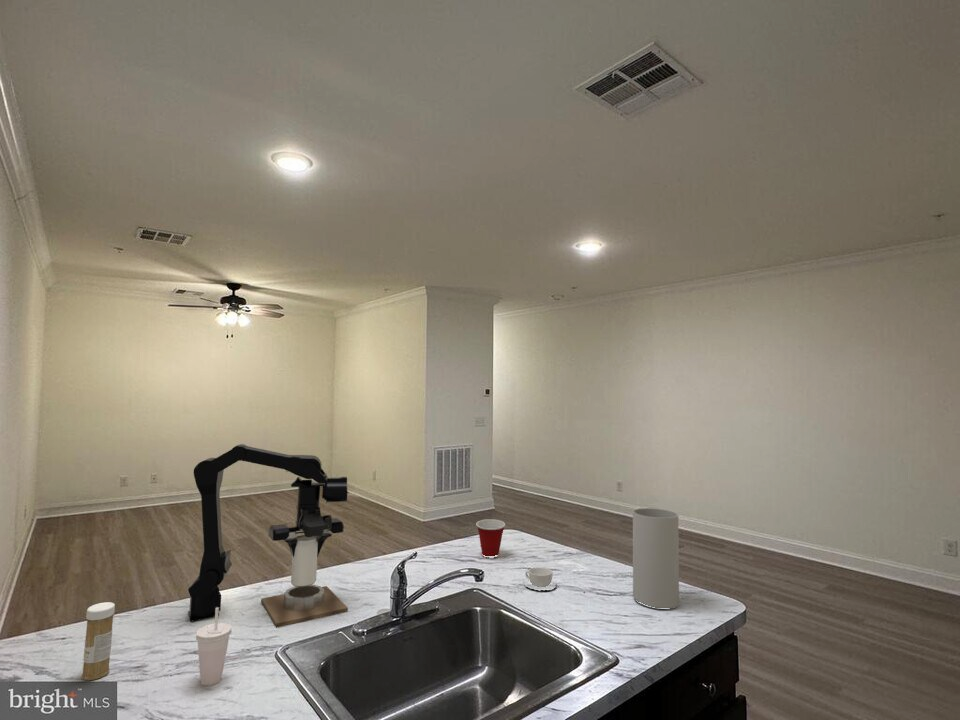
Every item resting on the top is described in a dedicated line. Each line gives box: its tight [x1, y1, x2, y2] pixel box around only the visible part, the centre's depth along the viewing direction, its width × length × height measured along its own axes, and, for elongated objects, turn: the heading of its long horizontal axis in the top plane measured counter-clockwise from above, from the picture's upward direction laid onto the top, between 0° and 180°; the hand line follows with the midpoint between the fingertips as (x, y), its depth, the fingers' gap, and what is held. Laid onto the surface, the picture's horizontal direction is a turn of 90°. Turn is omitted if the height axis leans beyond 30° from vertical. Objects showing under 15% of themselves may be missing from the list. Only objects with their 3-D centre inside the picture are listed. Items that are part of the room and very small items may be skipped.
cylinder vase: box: [632, 507, 680, 609], centre depth 145 cm, size 12×12×25 cm
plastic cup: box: [475, 518, 506, 556], centre depth 183 cm, size 11×11×12 cm
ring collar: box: [283, 584, 324, 611], centre depth 135 cm, size 10×10×3 cm
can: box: [290, 534, 318, 587], centre depth 136 cm, size 6×6×12 cm
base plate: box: [260, 585, 349, 628], centre depth 135 cm, size 18×18×1 cm
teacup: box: [524, 566, 554, 587], centre depth 154 cm, size 10×10×5 cm
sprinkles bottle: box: [81, 601, 116, 681], centre depth 101 cm, size 5×5×13 cm
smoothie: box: [195, 607, 233, 686], centre depth 100 cm, size 6×6×14 cm
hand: (305, 561), depth 136 cm, fingers closed on can, 5 cm apart
